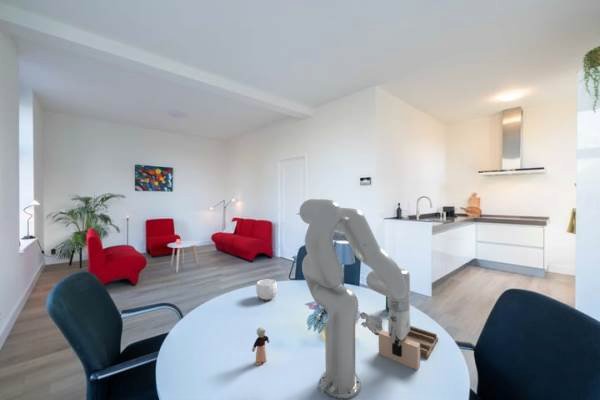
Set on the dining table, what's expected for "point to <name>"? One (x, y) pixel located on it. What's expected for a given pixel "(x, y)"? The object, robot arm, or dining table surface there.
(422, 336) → the rack
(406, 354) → the tan flat block
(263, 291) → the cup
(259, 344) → the grandmother figurine
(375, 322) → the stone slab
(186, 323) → the dining table surface
